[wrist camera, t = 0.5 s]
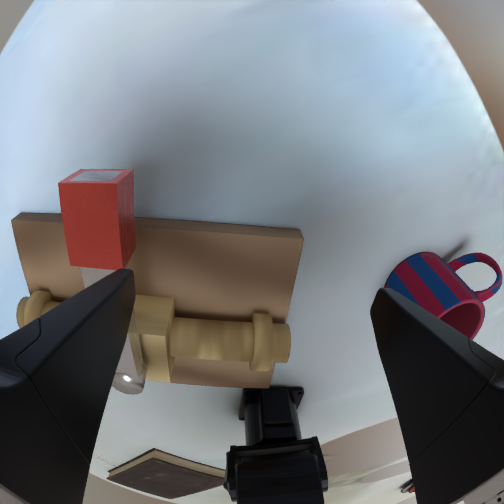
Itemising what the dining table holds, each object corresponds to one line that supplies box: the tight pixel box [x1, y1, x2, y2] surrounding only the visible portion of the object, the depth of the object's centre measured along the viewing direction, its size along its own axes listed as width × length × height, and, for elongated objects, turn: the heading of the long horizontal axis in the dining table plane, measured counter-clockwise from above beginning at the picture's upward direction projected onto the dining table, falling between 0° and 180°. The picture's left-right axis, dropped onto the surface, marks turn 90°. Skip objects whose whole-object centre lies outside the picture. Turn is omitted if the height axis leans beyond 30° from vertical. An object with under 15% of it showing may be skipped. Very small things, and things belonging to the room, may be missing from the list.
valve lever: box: [58, 169, 148, 394], centre depth 15 cm, size 14×3×2 cm, turn 174°
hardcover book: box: [106, 448, 226, 499], centre depth 44 cm, size 16×23×2 cm
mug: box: [385, 252, 502, 340], centre depth 21 cm, size 7×10×7 cm
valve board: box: [11, 213, 304, 388], centre depth 21 cm, size 16×22×6 cm
